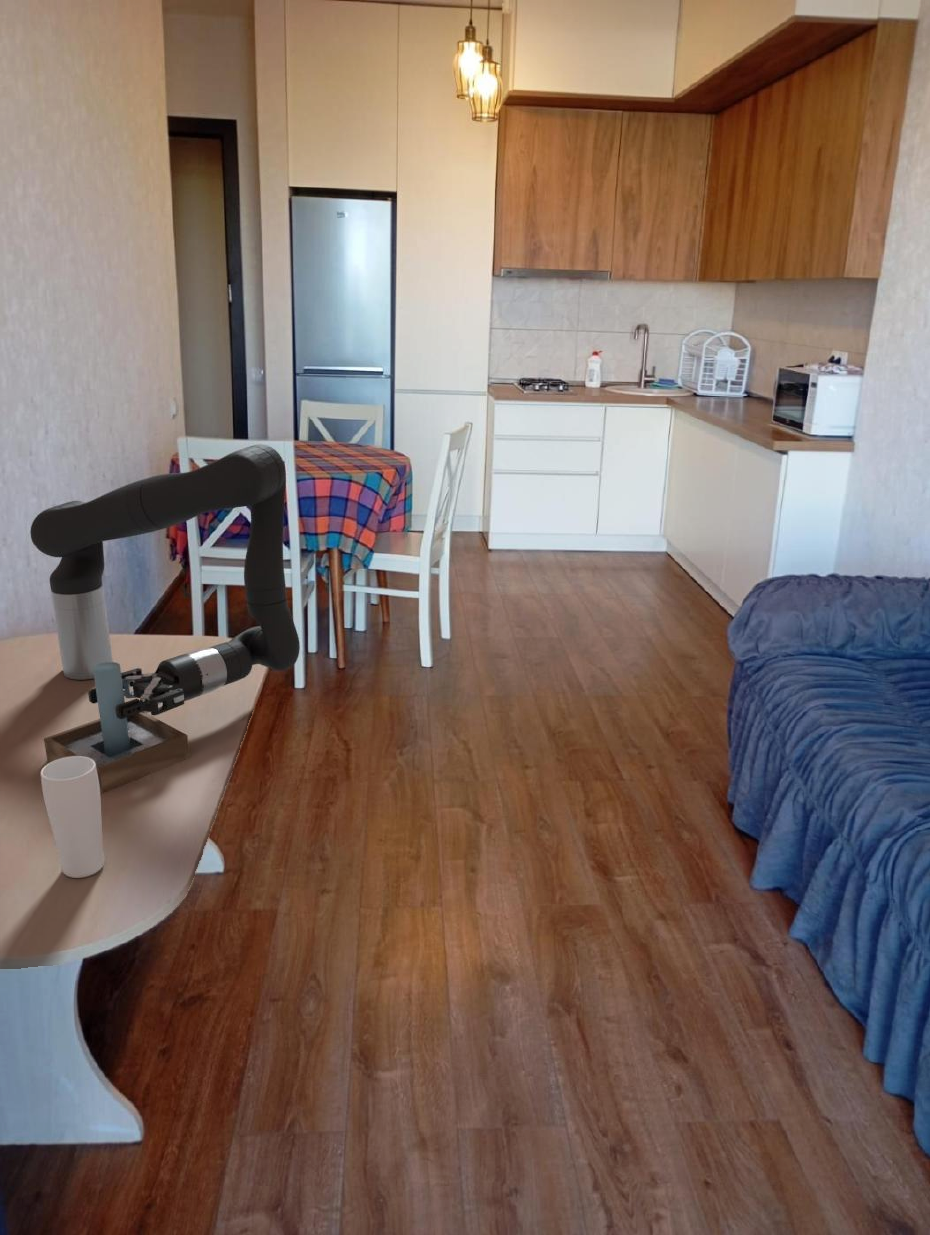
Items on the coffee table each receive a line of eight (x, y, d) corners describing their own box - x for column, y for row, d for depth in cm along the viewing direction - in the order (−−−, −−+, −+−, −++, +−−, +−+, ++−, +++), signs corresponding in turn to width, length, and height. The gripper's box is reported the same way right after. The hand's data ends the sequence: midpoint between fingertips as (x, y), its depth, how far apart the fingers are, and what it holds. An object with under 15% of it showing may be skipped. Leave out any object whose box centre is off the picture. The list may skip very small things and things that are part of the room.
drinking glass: (47, 869, 132) (30, 768, 127) (95, 848, 137) (80, 750, 132) (71, 889, 128) (55, 786, 123) (120, 867, 133) (106, 766, 127)
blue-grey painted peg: (101, 759, 161) (88, 667, 156) (123, 750, 164) (111, 660, 158) (114, 767, 159) (101, 674, 153) (136, 758, 161) (124, 666, 156)
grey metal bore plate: (54, 760, 161) (52, 746, 160) (135, 730, 171) (133, 717, 170) (100, 790, 152) (97, 776, 151) (182, 757, 162) (181, 743, 161)
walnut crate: (47, 760, 161) (43, 738, 159) (137, 727, 172) (134, 706, 170) (97, 794, 150) (94, 771, 149) (189, 757, 162) (187, 734, 160)
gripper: (166, 643, 171) (77, 671, 160) (215, 665, 162) (123, 695, 151) (171, 683, 174) (83, 713, 163) (219, 707, 165) (129, 740, 154)
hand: (103, 705), depth 157 cm, fingers open, 8 cm apart
